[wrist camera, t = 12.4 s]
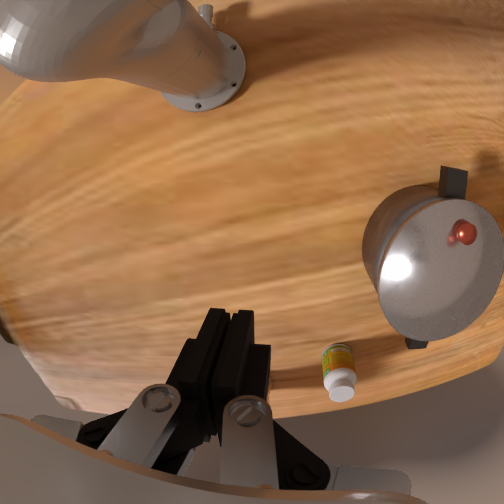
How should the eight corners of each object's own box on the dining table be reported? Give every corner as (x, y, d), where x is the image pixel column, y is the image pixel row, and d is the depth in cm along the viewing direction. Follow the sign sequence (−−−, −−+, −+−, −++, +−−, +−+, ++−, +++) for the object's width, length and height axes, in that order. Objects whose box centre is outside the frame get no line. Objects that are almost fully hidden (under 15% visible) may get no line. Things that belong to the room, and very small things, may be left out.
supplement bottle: (322, 343, 48) (326, 383, 39) (353, 342, 47) (362, 381, 38) (320, 365, 50) (322, 405, 41) (349, 364, 49) (356, 404, 40)
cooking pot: (370, 153, 36) (393, 159, 27) (474, 170, 34) (512, 182, 24) (350, 314, 45) (361, 355, 36) (443, 314, 43) (466, 348, 34)
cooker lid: (389, 188, 28) (399, 194, 25) (512, 207, 25) (526, 214, 22) (363, 336, 35) (368, 352, 32) (476, 332, 32) (485, 345, 29)
